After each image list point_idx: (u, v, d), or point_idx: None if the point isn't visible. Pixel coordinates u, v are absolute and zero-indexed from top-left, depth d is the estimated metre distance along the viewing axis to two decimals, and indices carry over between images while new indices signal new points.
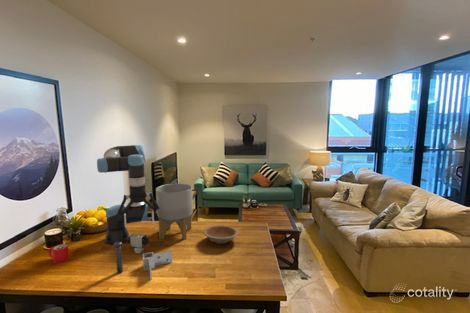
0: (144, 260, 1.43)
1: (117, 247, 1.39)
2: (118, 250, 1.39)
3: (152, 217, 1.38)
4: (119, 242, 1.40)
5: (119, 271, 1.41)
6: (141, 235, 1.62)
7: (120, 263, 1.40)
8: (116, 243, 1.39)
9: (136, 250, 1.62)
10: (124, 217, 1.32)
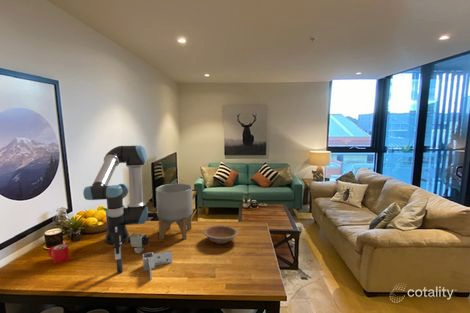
0: (144, 260, 1.43)
1: None
2: None
3: None
4: None
5: (119, 271, 1.41)
6: (141, 235, 1.62)
7: (120, 263, 1.40)
8: None
9: (136, 250, 1.62)
10: None
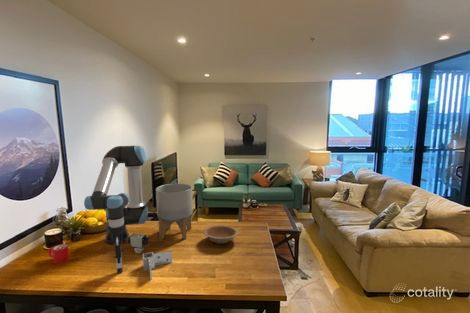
0: (144, 260, 1.43)
1: None
2: None
3: (116, 262, 1.39)
4: None
5: (119, 271, 1.41)
6: (141, 235, 1.62)
7: None
8: None
9: (136, 250, 1.62)
10: None
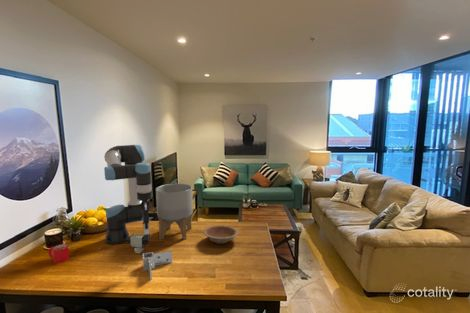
0: (144, 260, 1.43)
1: None
2: None
3: None
4: None
5: (146, 237, 1.43)
6: (141, 235, 1.62)
7: None
8: None
9: (136, 250, 1.62)
10: None
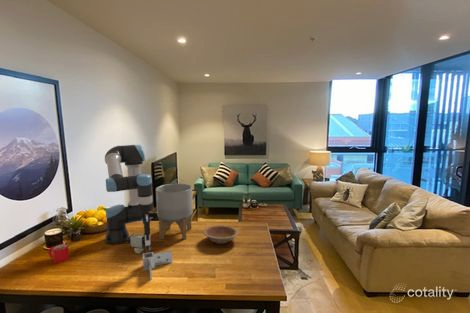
0: (144, 260, 1.43)
1: None
2: None
3: (145, 239, 1.43)
4: None
5: (147, 248, 1.44)
6: (141, 235, 1.62)
7: None
8: None
9: (136, 250, 1.62)
10: None
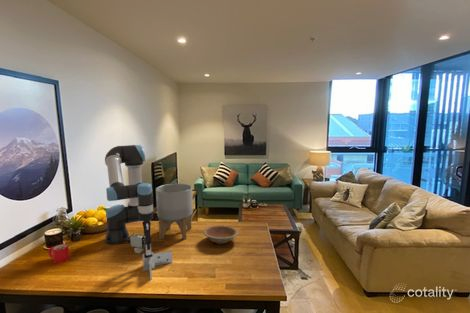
0: (144, 260, 1.43)
1: None
2: None
3: None
4: None
5: None
6: (141, 235, 1.62)
7: None
8: None
9: (136, 250, 1.62)
10: (144, 237, 1.49)
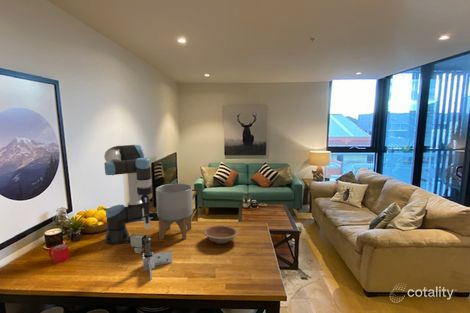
0: (144, 260, 1.43)
1: (147, 243, 1.43)
2: (148, 245, 1.44)
3: (144, 222, 1.38)
4: (148, 238, 1.45)
5: None
6: (141, 235, 1.62)
7: None
8: (146, 239, 1.44)
9: (136, 250, 1.62)
10: (142, 210, 1.50)
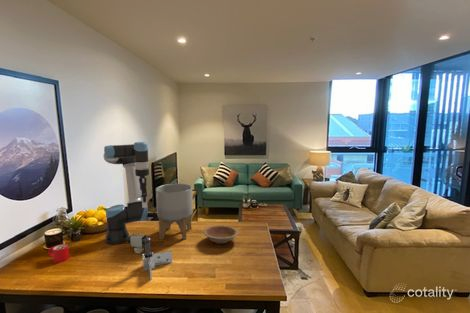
0: (144, 260, 1.43)
1: (147, 243, 1.43)
2: (148, 245, 1.44)
3: (142, 202, 1.48)
4: (148, 238, 1.45)
5: None
6: (141, 235, 1.62)
7: None
8: (146, 239, 1.44)
9: (136, 250, 1.62)
10: (140, 192, 1.60)
